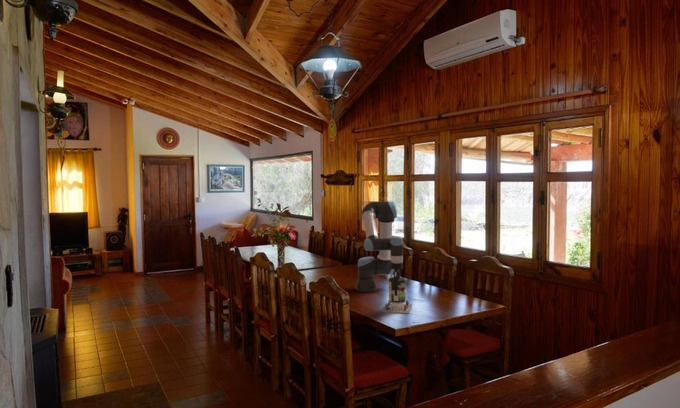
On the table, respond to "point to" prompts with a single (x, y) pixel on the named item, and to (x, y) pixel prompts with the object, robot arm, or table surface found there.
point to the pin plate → (397, 308)
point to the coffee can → (400, 291)
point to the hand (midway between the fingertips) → (397, 298)
